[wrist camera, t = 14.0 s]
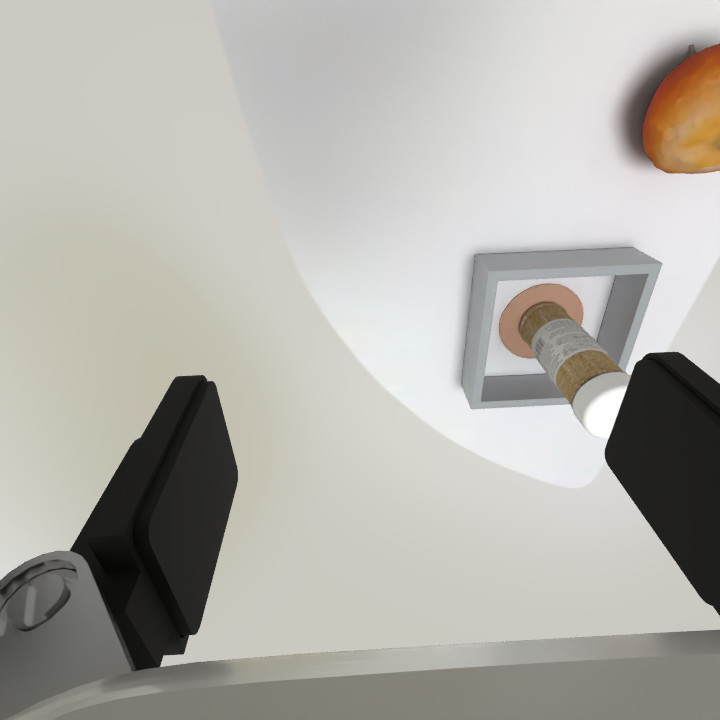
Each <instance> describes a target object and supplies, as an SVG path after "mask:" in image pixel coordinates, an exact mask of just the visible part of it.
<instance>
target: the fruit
mask: <svg viewBox="0 0 720 720" xmlns="http://www.w3.org/2000/svg"><path fill="white" fill-rule="evenodd" d="M689 49H690V57H688V58H687V59H685V60H684V61H683V62H681V63H680V64H679V65H678V66H677V67H676V68H675V69H674V70H673V71H671V72H670V73H669V74H668V75H667V76H666V77H665V78H664V80H663V81H662V83H661V84H660V86H659V87H658V88H657V90H656V92H655V94H654V96H653V98H652V100H651V102H650V105H649V107H648V110H647V112H646V115H645V117H644V121H643V130H642V139H643V147H644V150H645V153H646V155H647V156H648V157H649V158H650V160H651V161H652V162H653V163H654V166H655V167H656V168H658V169H661V170H663V171H664V172H666V173H686V174H695V173H709V172H715V171H720V44H717V45H714V46H711V47H708V48H706V49H704V50H702V51H700V52H698V53H696V52H695V49H694V45H692V46H691V45H690V46H689Z"/></svg>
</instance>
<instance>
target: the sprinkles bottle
mask: <svg viewBox="0 0 720 720" xmlns="http://www.w3.org/2000/svg"><path fill="white" fill-rule="evenodd" d="M519 333H520V336H521V338H522V339H523V340H524V342H526V343H527V344H528V345H529V347H530V348H531V349H532V352H533V354H534V356H535V357H536V359H537V360H538V361H539V363H540V364H541V366H542V367H543V369H544V370H545V371H546V373H547V374H548V376H549V377H550V378H551V380H552V381H553V383H554V384H555V385H556V387H557V388H558V389H559V390H560V391H561V392H562V394H563V395H564V396H565V397H566V399H567V400H568V402H569V403H570V404H571V407H572V409H573V412H574V414H575V416H576V417H577V419H578V420H579V421H580V423H581V424H582V425H583V427H584V428H585V429H586V430H587V431H588V432H589V433H590V434H592V435H594V436H597V437H601V438H609V437H610V434H611V431H612V428H613V425H614V423H615V420H616V417H617V414H618V411H619V409H620V406H621V403H622V400H623V397H624V395H625V392H626V389H627V386H628V384H629V381H630V378H631V375H628V374H627V373H626V372H624V371H623V370H622V369H621V368H620V367H619V366H618V365H616V363H615V362H614V361H613V360H612V359H611V358H610V357H609V355H608V353H607V352H606V351H605V350H604V349H603V348H602V347H601V346H600V345H599V344H598V343H597V342H596V341H595V340H594V339H593V338H592V337H591V336H590V335H589V334H588V333H587V332H586V331H585V330H584V329H583V328H582V327H581V326H580V325H579V324H578V323H577V322H575V321H574V320H573V319H572V318H571V317H570V316H569V315H568V313H567V312H566V310H565V309H564V308H563V307H562V306H560V305H558V304H557V303H550V302H546V303H540V304H537V305H535V306H533V307H532V308H531V309H529V310H528V311H527V312H526V313H525V314H524V316H523V317H522V319H521V321H520V325H519Z"/></svg>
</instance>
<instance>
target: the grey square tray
mask: <svg viewBox="0 0 720 720" xmlns="http://www.w3.org/2000/svg"><path fill="white" fill-rule="evenodd" d="M661 266H662V263H661V262H659V261H657V260H655V259H654V258H652V257H650V256H648V255H646V254H645V253H643V252H641V251H639V250H638V249H636V248H634V247H628V248H606V249H585V250H563V251H542V252H520V253H499V254H477V255H475V263H474V272H473V281H472V290H471V300H470V309H469V318H468V327H467V337H466V346H465V355H464V364H463V374H462V383H461V385H462V387H463V390H464V393H465V395H466V398H467V400H468V403H469V405H470V408H471V409H485V408H504V407H524V406H544V405H564V404H570V403H569V402H568V400H567V399H566V397H565V396H564V395H563V394H562V392H561V391H560V390H559V389H558V388H557V387H556V385H555V384H554V383H553V381H552V380H551V378H550V377H549V376H548V374H534V375H514V376H494V377H484V374H485V367H486V360H487V353H488V346H489V338H490V331H491V324H492V317H493V310H494V303H495V296H496V289H497V282H498V281H503V280H524V279H546V278H567V277H588V276H609V275H616V277H615V281H614V284H613V288H612V291H611V295H610V298H609V301H608V305H607V308H606V312H605V315H604V319H603V322H602V325H601V329H600V332H599V336H598V339H597V343H598V344H599V345H600V346H601V347H602V348H603V349H604V350H605V351H606V352H607V353H608V355H609V357H610V358H611V359H612V360H613V361H614V362H615V363H616V365H618V366H619V367H620V368H621V369H622V370H623V371H624V372H625V370H626V367H627V364H628V361H629V358H630V356H631V353H632V350H633V347H634V344H635V341H636V338H637V335H638V332H639V330H640V327H641V324H642V321H643V318H644V315H645V312H646V309H647V306H648V304H649V301H650V298H651V295H652V292H653V289H654V286H655V283H656V280H657V278H658V275H659V272H660V269H661ZM546 302H550V303H557V304H558V305H560V306H562V307H563V308H564V309H565V310H566V312H567V313H568V315H569V316H570V317H571V318H572V319H573V320H574V321H575V322H577V323H578V324H579V325H580V326H581V324H582V320H583V307H582V303H581V301H580V299H579V298H578V297H577V295H576V294H575V293H574V292H572V291H571V290H570V289H568V288H566V287H564V286H561V285H557V284H542V285H537V286H534V287H531V288H529V289H527V290H525V291H523V292H522V293H520V294H519V295H518V296H516V297H515V298H514V299H513V300H512V301H511V302H510V303H509V304H508V306H507V307H506V309H505V310H504V312H503V314H502V317H501V320H500V325H499V332H500V337H501V339H502V342H503V343H504V345H505V346H506V348H507V349H508V350H509V351H511V352H512V353H513V354H515V355H517V356H520V357H523V358H536V357H535V356H534V354H533V352H532V349H531V348H530V347H529V345H528V344H527V343H526V342H524V340H523V339H522V338H521V336H520V333H519V325H520V321H521V319H522V317H523V316H524V314H525V313H526V312H527V311H528V310H529V309H531V308H532V307H533V306H535V305H537V304H540V303H546Z"/></svg>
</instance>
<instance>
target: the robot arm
mask: <svg viewBox="0 0 720 720" xmlns="http://www.w3.org/2000/svg"><path fill="white" fill-rule="evenodd" d="M605 459H606V462H607V464H608V466H609V467H610V469H611V470H612V471H613V473H614V474H615V476H616V477H617V479H618V480H619V481H620V483H621V484H622V486H623V487H624V489H625V490H626V491H627V493H628V494H629V496H630V497H631V499H632V500H633V501H634V503H635V504H636V506H637V507H638V509H639V510H640V511H641V513H642V514H643V516H644V517H645V519H646V520H647V521H648V523H649V524H650V526H651V527H652V528H653V530H654V531H655V533H656V534H657V536H658V537H659V539H660V540H661V541H662V543H663V544H664V546H665V547H666V548H667V550H668V551H669V553H670V554H671V556H672V557H673V559H674V560H675V561H676V563H677V564H678V565H679V567H680V569H681V570H682V571H683V573H684V574H685V576H686V577H687V579H688V580H689V581H690V583H691V584H692V586H693V587H694V589H695V590H696V591H697V593H698V594H699V596H700V597H701V598H702V599H703V600H704V601H705V602H706V603H707V604H709V605H712V606H713V607H714V608H715V610H716V611H717V613H718V614H719V615H720V384H719V383H718V382H717V381H715V380H714V379H713V378H712V377H710V376H709V375H708V374H707V373H705V372H704V371H703V370H701V369H700V368H699V367H698V366H696V365H695V364H694V363H693V362H691V361H690V360H689V359H688V358H686V357H685V356H684V355H682V354H681V353H679V352H662V353H649V354H646V355H645V356H644V357H643V359H642V360H640V361H638V362H637V363H636V365H635V367H634V370H633V372H632V375H631V378H630V381H629V384H628V386H627V389H626V392H625V395H624V397H623V400H622V403H621V406H620V409H619V411H618V414H617V417H616V420H615V423H614V425H613V428H612V431H611V434H610V437H609V439H608V442H607V445H606V448H605ZM237 482H238V470H237V465H236V461H235V457H234V454H233V450H232V446H231V442H230V438H229V434H228V430H227V427H226V423H225V419H224V415H223V411H222V407H221V404H220V399H219V396H218V392H217V388H216V385H215V383H214V382H213V381H207V379H206V378H205V376H203V375H197V376H178V377H175V379H174V380H173V382H172V383H171V385H170V387H169V389H168V391H167V392H166V394H165V396H164V398H163V399H162V401H161V403H160V405H159V406H158V408H157V410H156V412H155V414H154V415H153V417H152V419H151V420H150V422H149V424H148V426H147V428H146V429H145V431H144V433H143V435H142V436H141V438H139V439H137V440H135V441H134V443H133V444H132V445H131V446H130V448H129V450H128V452H127V453H126V455H125V457H124V458H123V460H122V462H121V464H120V465H119V467H118V469H117V470H116V472H115V474H114V476H113V477H112V479H111V481H110V482H109V484H108V486H107V488H106V490H105V491H104V493H103V494H102V496H101V498H100V500H99V501H98V503H97V505H96V506H95V508H94V510H93V512H92V513H91V515H90V517H89V518H88V520H87V522H86V524H85V526H84V527H83V529H82V531H81V532H80V534H79V536H78V537H77V539H76V541H75V543H74V544H73V546H72V548H71V549H70V551H55V552H51V553H47V554H42V555H40V556H38V557H35V558H33V559H31V560H29V561H26V562H24V563H23V564H21V565H20V566H18V567H17V568H16V569H14V570H12V571H11V572H9V573H8V574H7V575H6V576H5V577H4V578H3V579H1V580H0V720H720V630H707V631H688V632H669V633H648V634H631V635H612V636H594V637H576V638H558V639H541V640H524V641H508V642H507V641H506V642H489V643H471V644H456V645H455V644H454V645H438V646H422V647H405V648H390V649H375V650H374V649H373V650H358V651H341V652H326V653H309V654H294V655H282V656H269V657H257V658H245V659H232V660H219V661H207V662H196V663H188V664H181V665H173V666H165V667H160V665H161V661H162V658H163V655H178V654H184V652H185V648H186V644H187V641H188V637H189V635H195V634H196V633H197V632H198V630H199V627H200V624H201V621H202V617H203V613H204V609H205V605H206V601H207V598H208V593H209V590H210V586H211V582H212V579H213V575H214V571H215V567H216V563H217V559H218V555H219V551H220V548H221V544H222V540H223V536H224V532H225V529H226V525H227V521H228V517H229V513H230V509H231V506H232V502H233V498H234V494H235V490H236V487H237Z"/></svg>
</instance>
